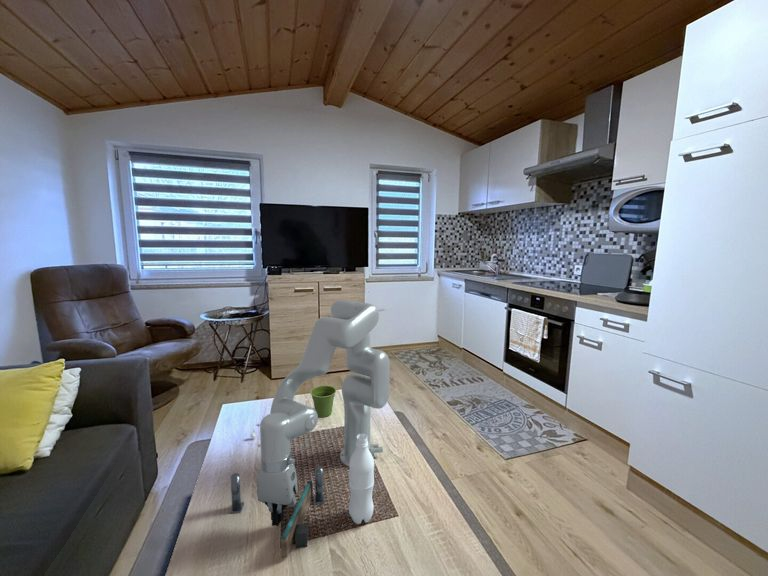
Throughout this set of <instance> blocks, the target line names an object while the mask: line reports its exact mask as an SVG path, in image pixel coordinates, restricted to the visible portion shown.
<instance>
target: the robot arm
mask: <svg viewBox="0 0 768 576" xmlns="http://www.w3.org/2000/svg"><path fill="white" fill-rule="evenodd" d="M330 314H331V316H332V317H331V316H324V317H323V316H322V317H320V318H318V319H317V320H316V321H315V322H314V325H313V327H312V329H311V333H310V335H309V339H308V341H307V344H306V347H305V350H304V352H303V355H302V358H301V361H300V362H299V365H297V366H296V367H295V368H293V369H292V370H291V371H290V372H289V373H288V374H287V375H286V376H285V377H284V379H283V380H281V382H280V383H279V385H278V387H277V389H276V392H275V395H274V397H273V400H272V402H271V403H272V404H271V406H270V413H269V414H266V415H265V416H264V417H263V418H262V419H261V420H260V423H259V433H260V436H259V437H260V443H261V446H260V465H259V467H258V472H257V478H256V497H257V501H258V502H261V503H264V505H265V506H266V507H267V508H268V512H269V513H270V520H271V526H272V527H277V528H278V527H279V526H280V524H281V522H283V520H284V519H285V509H286V508H290V507H291V508H294V507H296V505H297V497H296V495H297V494H298V492H299V487H298V475H297V474H298V473H297V470H296V467H295V463H296V457H295V458H293V456H292V452H291V441H292V440H293V439H295V438H299V437H301V436H305V435H306V434H308V433H310V432H312V431H313V430H314V429H315V428H316V426H317V424H318V420H319V417H318V414H317V412H316V411H315V408H313V407H311V406H310V405H307V404H303V403H301V402H298V401H296V400H294V398H295V395H296V393H297V391H298V389H299V388H300V386H301V385H302V384H303V383H305V382H306V381H307V380H310V379H312V378H315V377H319V376H323V375H326V374H327V373H328V372H329V369H330V365H331V364H332V360H333V357H334V354H335V350H336V349H337V348H340V349H345V362H346V368H347V369H348V370H349V371H350V372H353V373H351V374H347V376H345V378H344V379H343V381H342V383H341V395H342V399H343V407H344V408H343V409H344V417H343V418H344V425H343V426H344V431H343V432H344V434H343V437H344V438H343V439H344V440H343V441H344V444H343V445H344V447H343V448H342V450H340V453H339V457H340V458H339V460H340V461H341V463H342V464H343V465H344V466H346V467H349V462H350V458H351V456H352V454H353V453H354V451H355V449H356V441H357V435H359V434H366V435H367V441H368V449H369V451H370V453H371V455H372V457H373V459H374V458H375V454H377V453H378V454H380V453H381V454H382V453H384V452H383V451H384V449H383V446H379V444H378V443H375V444H373V443H371V418H372V417H371V416H372V415H371V408H373V409H378V410H379V409H382V408H383V407H385V406H386V405H387V403H388V401H389V397H390V382H391V381H390V375H391V373H390V372H391V371H390V370H391V368H390V367H391V363H390V358H389V356H388V354H387V353H386V352H385V351H383V350H381V349H376V348H373V347H372V346H371V334H370V333H371V331H372V330H374V328H375V327H376V326H377V324H378V321H379V319H380V313H379V310H378V308H377V306H375V305H374V304H372V303H366V302H360V301H353V300H347V299H340V300H335V301H334V302H333V303H332V304H331V306H330Z"/></svg>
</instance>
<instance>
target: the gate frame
mask: <svg viewBox="0 0 768 576" xmlns="http://www.w3.org/2000/svg"><path fill="white" fill-rule="evenodd" d="M314 478H315V479H314V491H315V493H314V495H313V506H314V505H323V504H325V498H326V497H325V493H324V466H322V465H317V466H315V467H314ZM230 488H231V489H230V490H231V491H230V492H231V506H230V510H229V511H228V513H229V515H230V514H239V513H242V510H243V508H244V505H245V503H244V501H242V499H241V498H242V497H241V475H240V473H239V472H236V473H233V474H231V475H230ZM308 542H309V523H308V522H307V523H302V524H298V525H296V532H295V540H294V543H295V544H294V545H295V549H301V548H308V546H309V545H308Z"/></svg>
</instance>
